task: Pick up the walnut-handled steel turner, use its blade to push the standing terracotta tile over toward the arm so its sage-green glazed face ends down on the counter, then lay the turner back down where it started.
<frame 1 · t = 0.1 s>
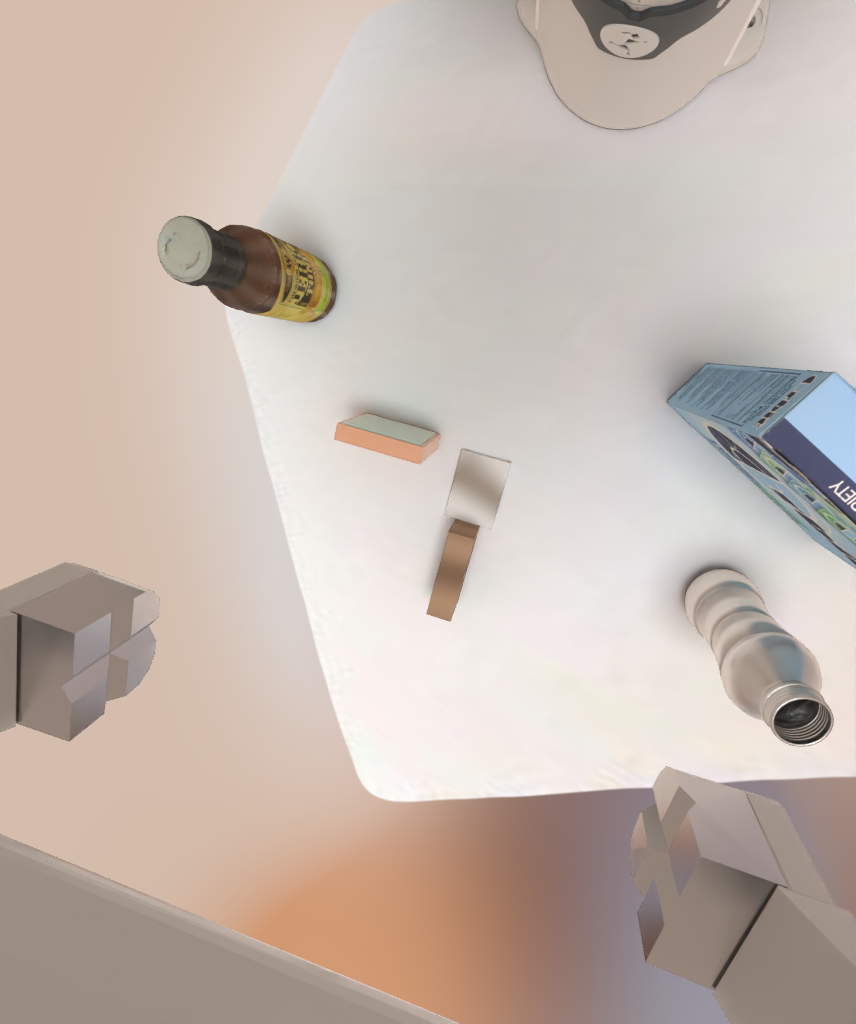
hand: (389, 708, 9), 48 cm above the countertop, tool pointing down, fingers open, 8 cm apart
plastic bottle: (714, 593, 55), on the countertop
tile: (390, 436, 53), point 4 cm above the countertop
gum box: (764, 454, 51), on the countertop
turner: (468, 520, 58), on the countertop
sauce bottle: (309, 288, 55), on the countertop
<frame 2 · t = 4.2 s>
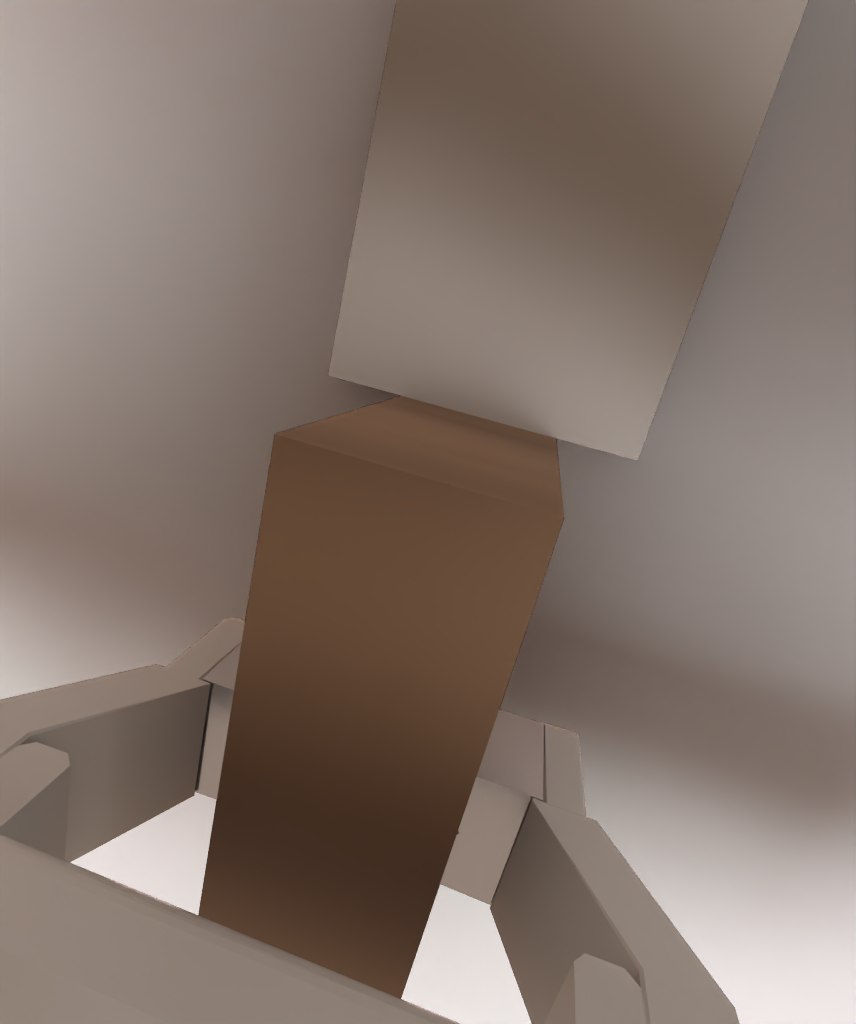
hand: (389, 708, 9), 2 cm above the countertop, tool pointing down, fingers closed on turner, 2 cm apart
turner: (481, 412, 9), on the countertop, touching gripper
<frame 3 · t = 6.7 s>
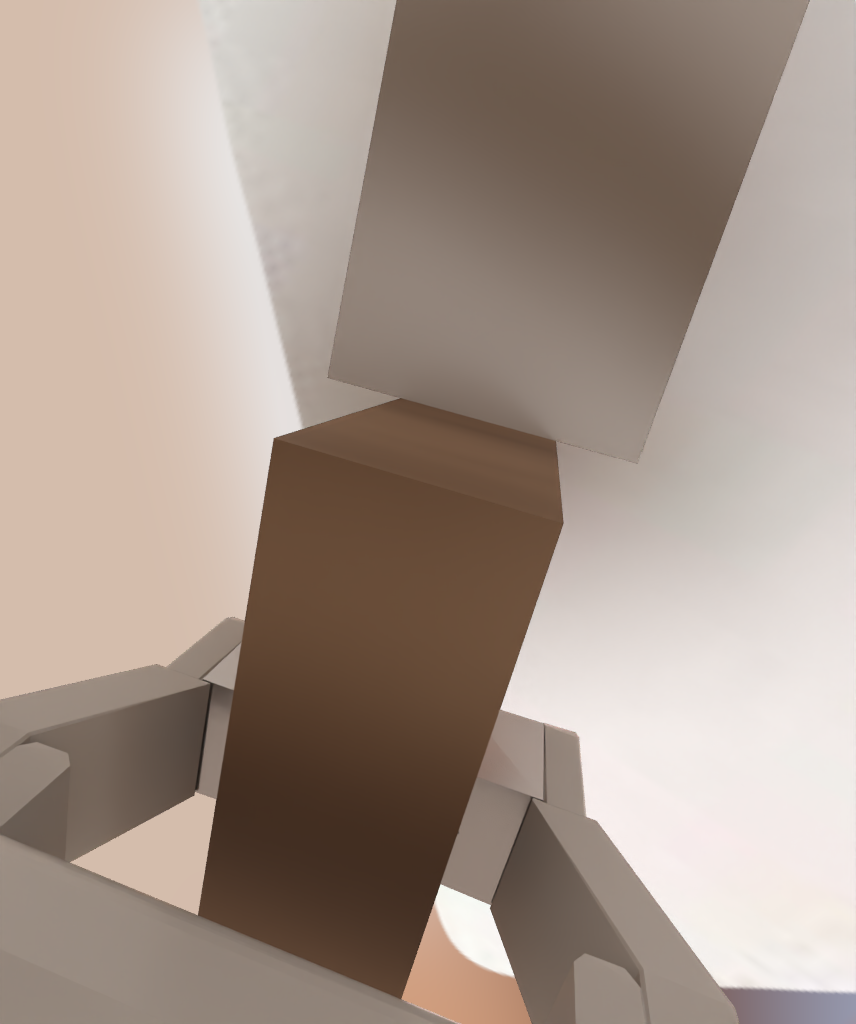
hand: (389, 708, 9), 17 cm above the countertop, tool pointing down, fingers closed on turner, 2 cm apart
turner: (481, 415, 9), point 15 cm above the countertop, touching gripper
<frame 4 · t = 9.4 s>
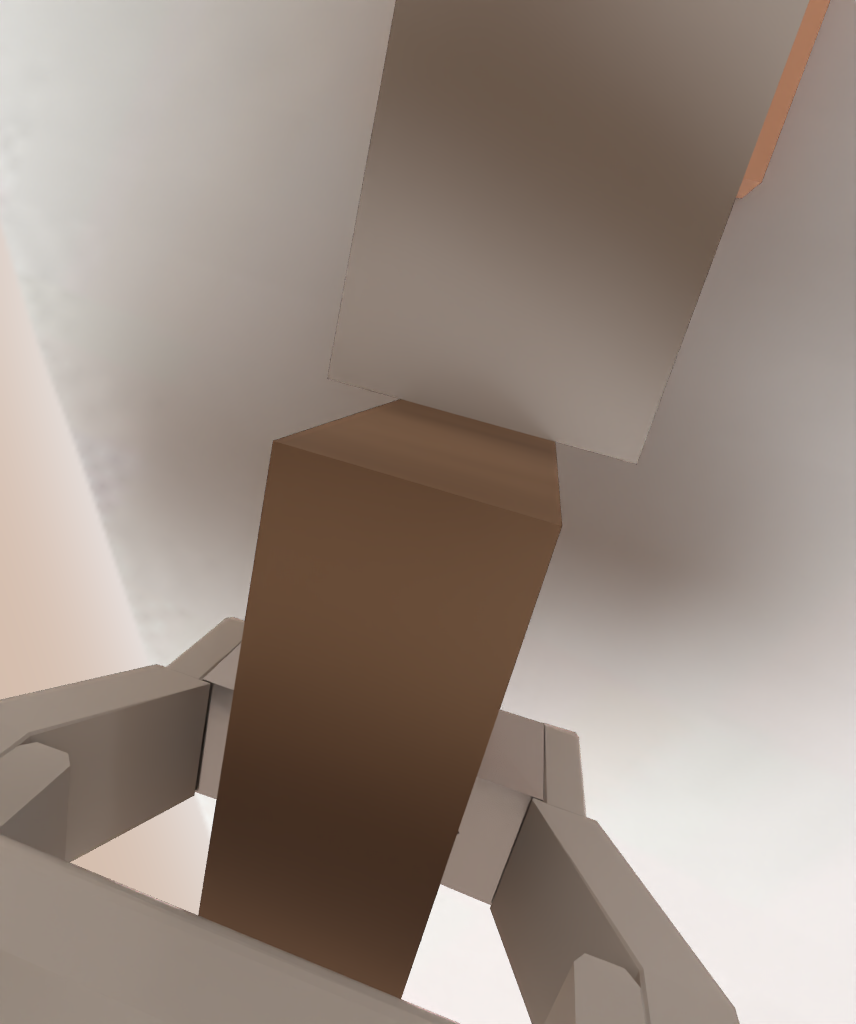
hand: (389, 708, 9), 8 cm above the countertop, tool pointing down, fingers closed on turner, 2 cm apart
turner: (480, 415, 9), point 6 cm above the countertop, touching gripper
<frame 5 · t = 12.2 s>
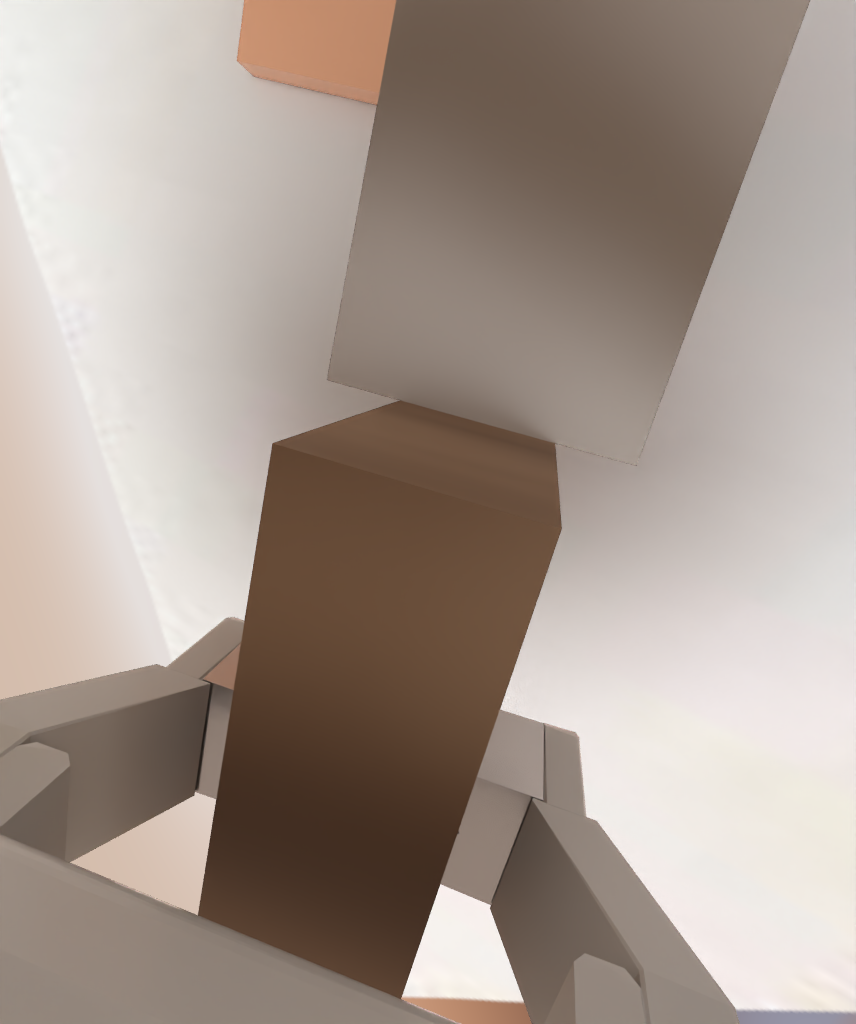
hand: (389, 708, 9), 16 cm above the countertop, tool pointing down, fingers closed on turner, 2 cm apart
turner: (480, 417, 9), point 14 cm above the countertop, touching gripper
when the fingers open (4 cm above the countertop, at t = 14.6 s): turner drops 2 cm, on the countertop.
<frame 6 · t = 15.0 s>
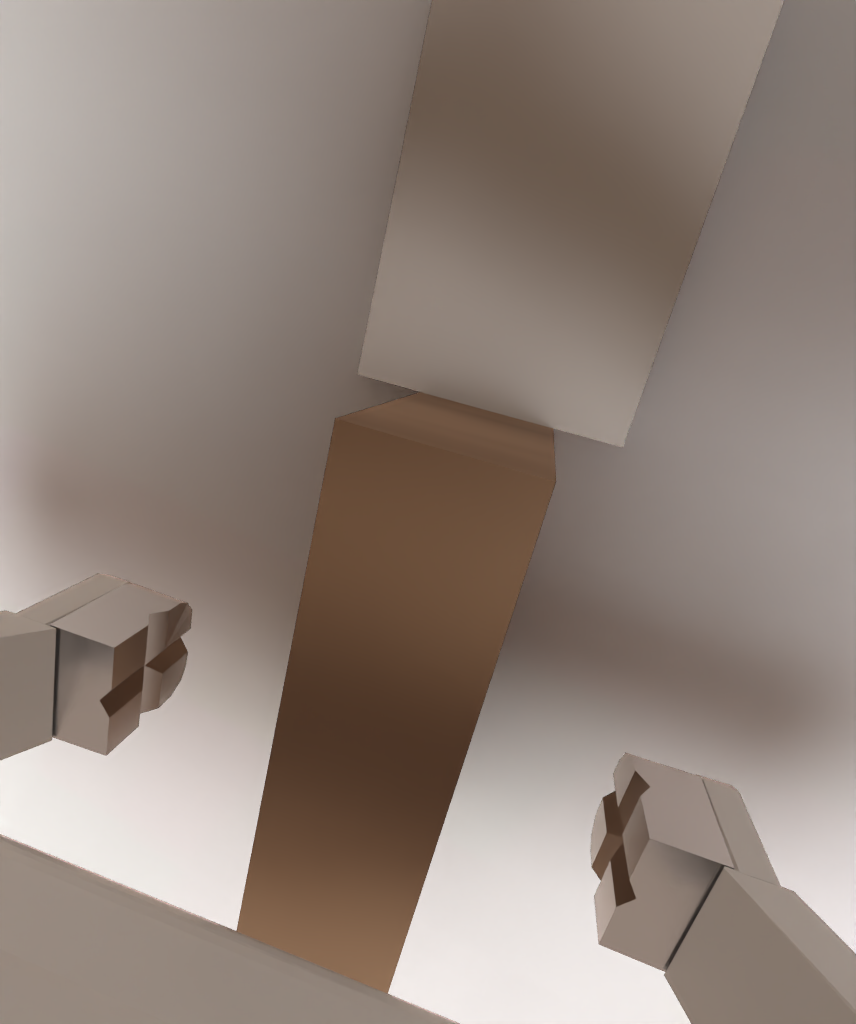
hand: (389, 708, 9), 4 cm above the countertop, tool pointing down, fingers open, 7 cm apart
turner: (489, 407, 11), on the countertop
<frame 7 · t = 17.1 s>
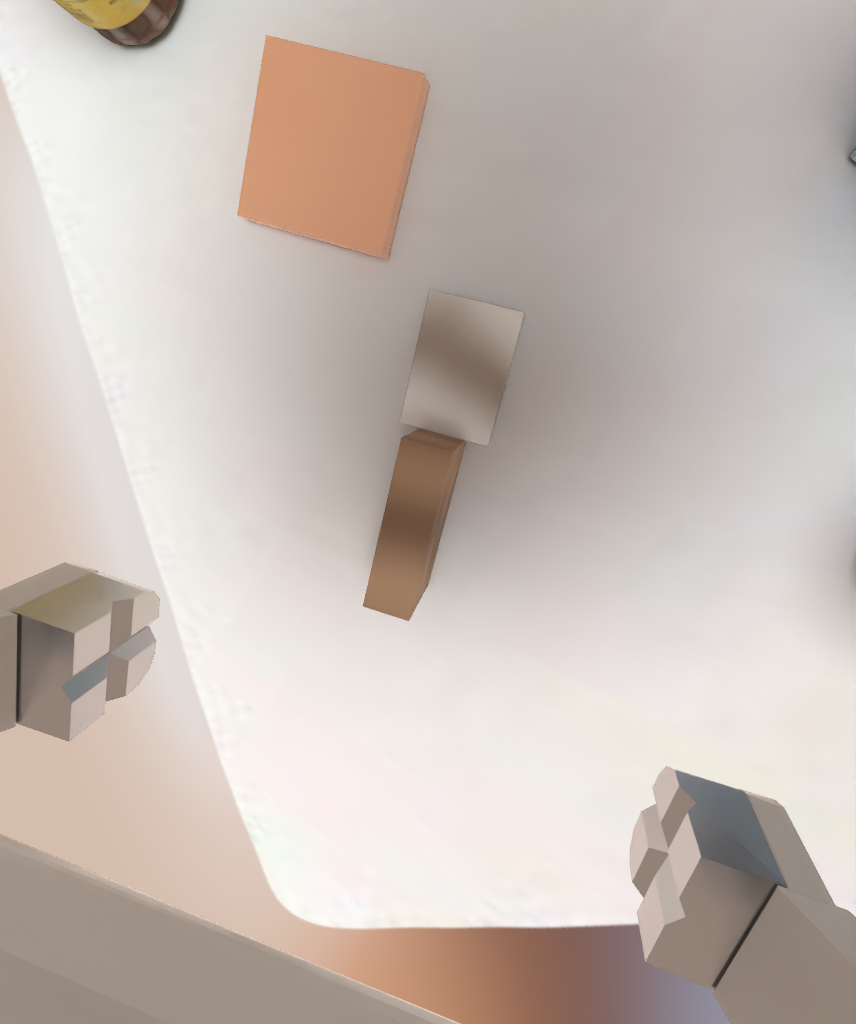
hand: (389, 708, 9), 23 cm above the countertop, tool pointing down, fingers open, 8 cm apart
tile: (330, 153, 28), on the countertop, tilted 90°
turner: (444, 433, 31), on the countertop
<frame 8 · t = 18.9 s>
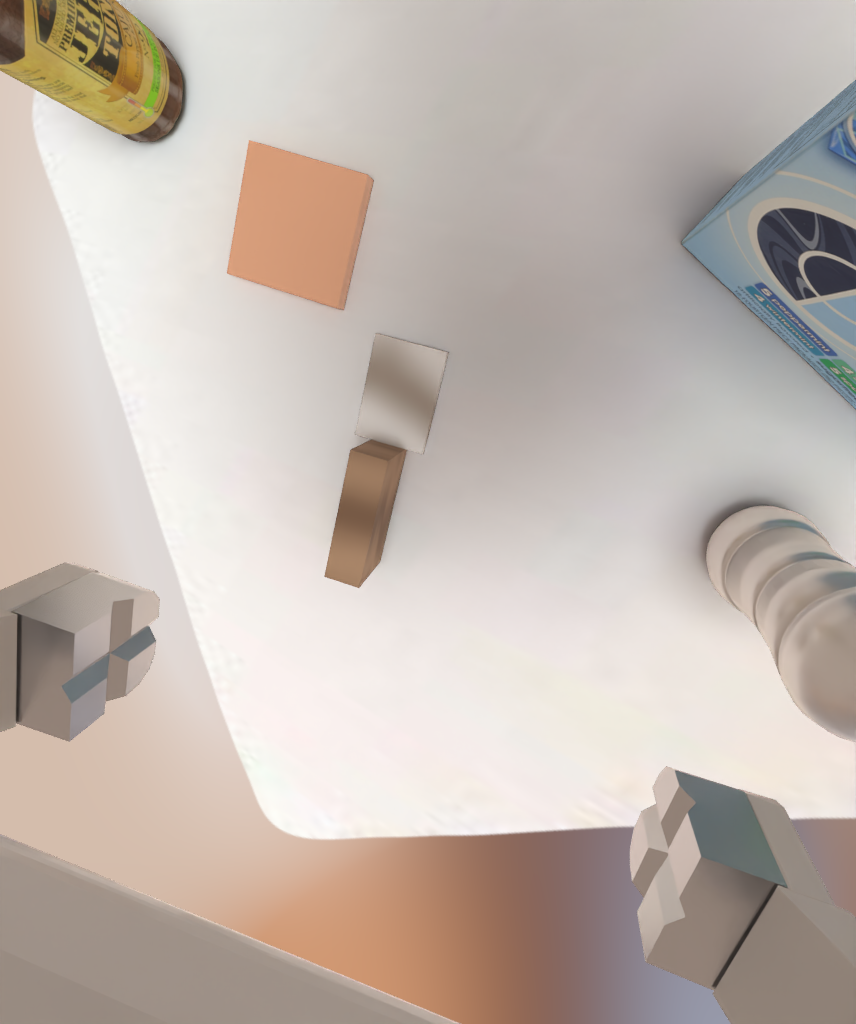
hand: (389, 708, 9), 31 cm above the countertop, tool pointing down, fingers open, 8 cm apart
plastic bottle: (749, 546, 37), on the countertop
tile: (298, 228, 37), on the countertop, tilted 90°
gum box: (832, 324, 33), on the countertop
turner: (390, 443, 40), on the countertop
sauce bottle: (149, 91, 37), on the countertop
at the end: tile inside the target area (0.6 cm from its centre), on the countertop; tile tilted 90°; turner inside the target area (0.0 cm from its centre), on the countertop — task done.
